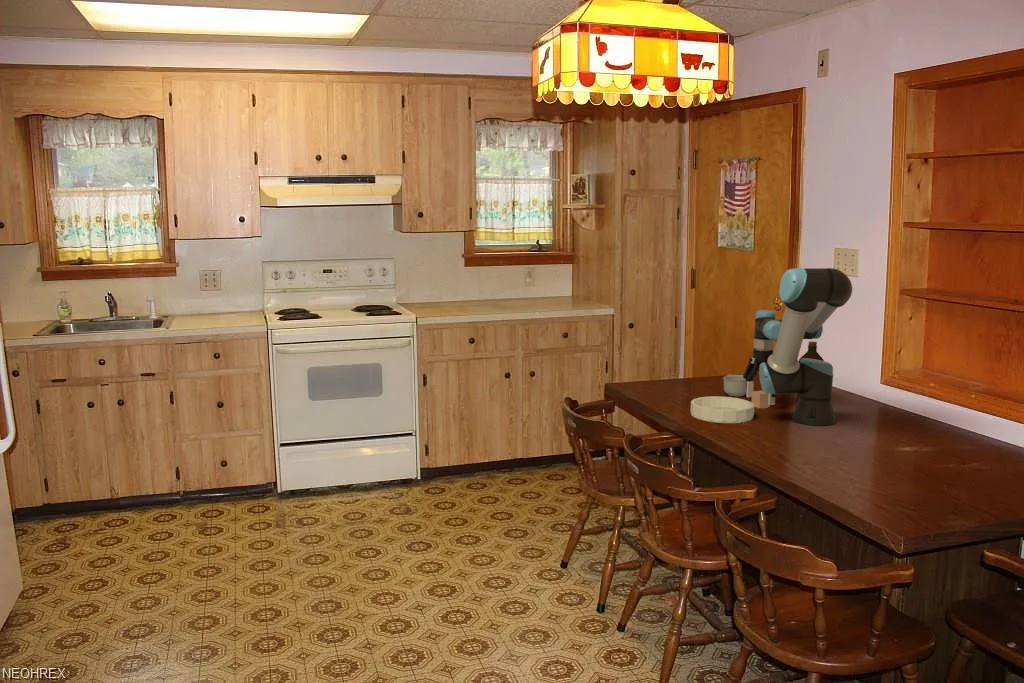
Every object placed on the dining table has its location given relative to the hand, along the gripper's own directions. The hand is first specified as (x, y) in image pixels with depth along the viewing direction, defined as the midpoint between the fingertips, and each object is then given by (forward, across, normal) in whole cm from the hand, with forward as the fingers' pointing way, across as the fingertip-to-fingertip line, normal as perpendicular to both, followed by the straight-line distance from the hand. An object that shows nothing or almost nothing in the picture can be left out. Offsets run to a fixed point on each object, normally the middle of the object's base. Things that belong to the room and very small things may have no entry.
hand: (760, 400), depth 351 cm
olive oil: (+3, -2, -24) cm, 24 cm away
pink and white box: (+2, 0, 0) cm, 2 cm away
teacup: (+3, +22, -4) cm, 22 cm away
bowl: (+2, -6, +23) cm, 24 cm away
